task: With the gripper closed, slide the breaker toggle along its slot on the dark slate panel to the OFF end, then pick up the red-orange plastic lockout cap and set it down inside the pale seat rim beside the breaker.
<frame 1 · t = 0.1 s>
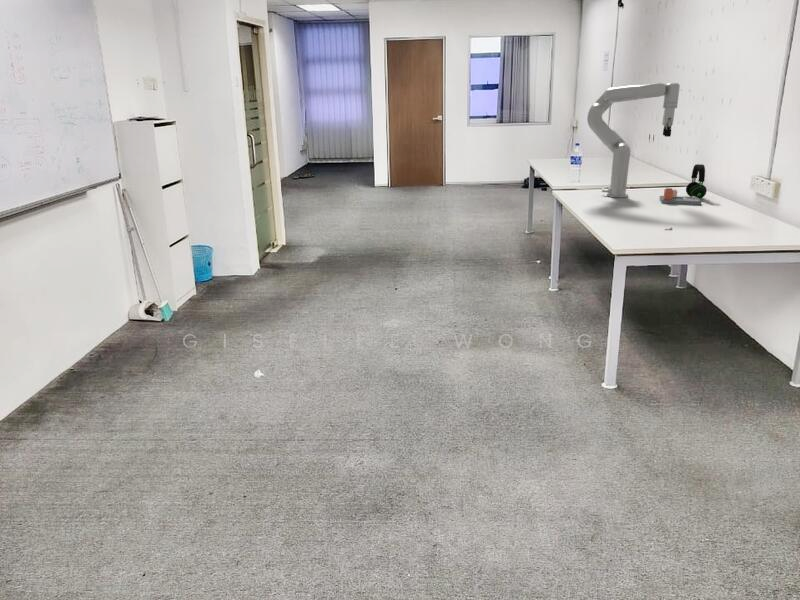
hand: (666, 135, 374), 37 cm above the table, tool pointing down, fingers open, 9 cm apart
headphones: (694, 198, 385), on the table
panel: (679, 202, 372), on the table
lockout cap: (667, 198, 370), point 2 cm above the table, touching panel
breaker toggle: (674, 193, 374), point 4 cm above the table, slide at 0.0 cm
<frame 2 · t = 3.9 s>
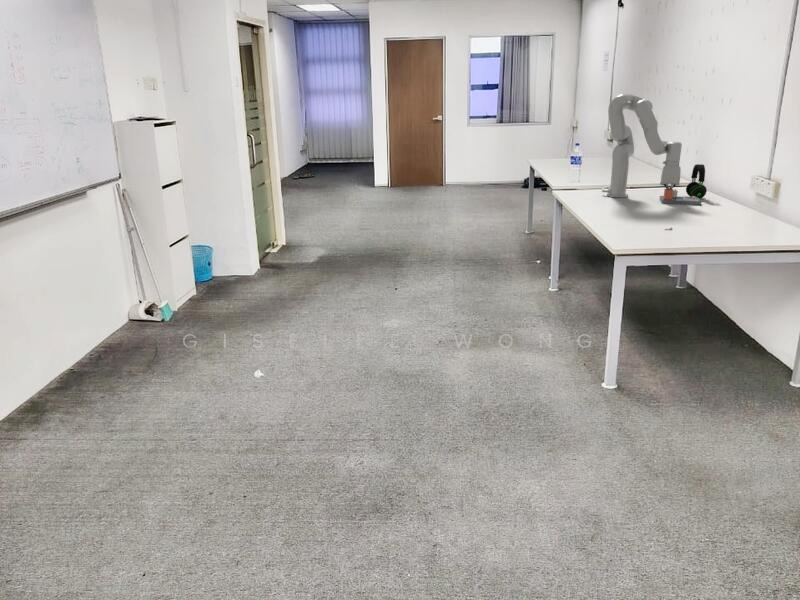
hand: (668, 195, 375), 3 cm above the table, tool pointing down, fingers closed
breaker toggle: (674, 193, 374), point 4 cm above the table, slide at 0.2 cm, touching gripper
everything else where it was.
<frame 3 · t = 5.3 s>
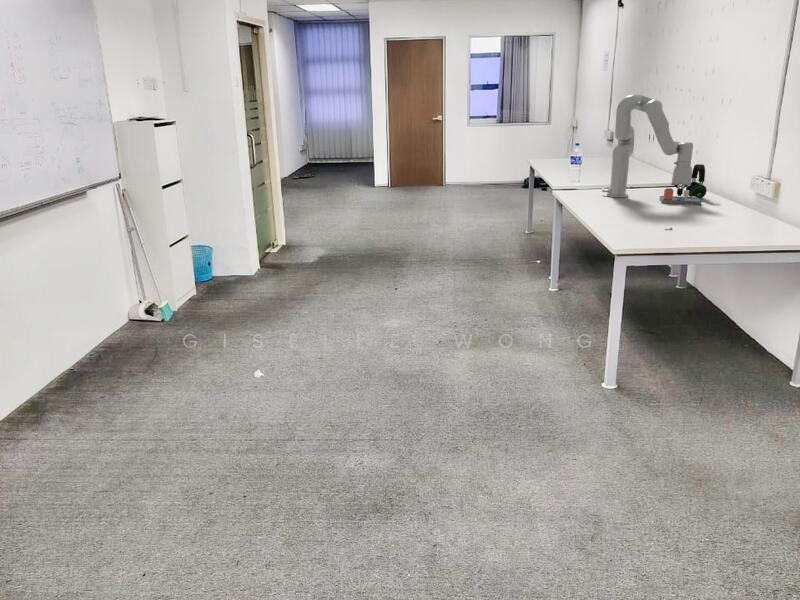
hand: (679, 195, 374), 3 cm above the table, tool pointing down, fingers closed
breaker toggle: (686, 193, 372), point 4 cm above the table, slide at 6.3 cm
everything else where it was.
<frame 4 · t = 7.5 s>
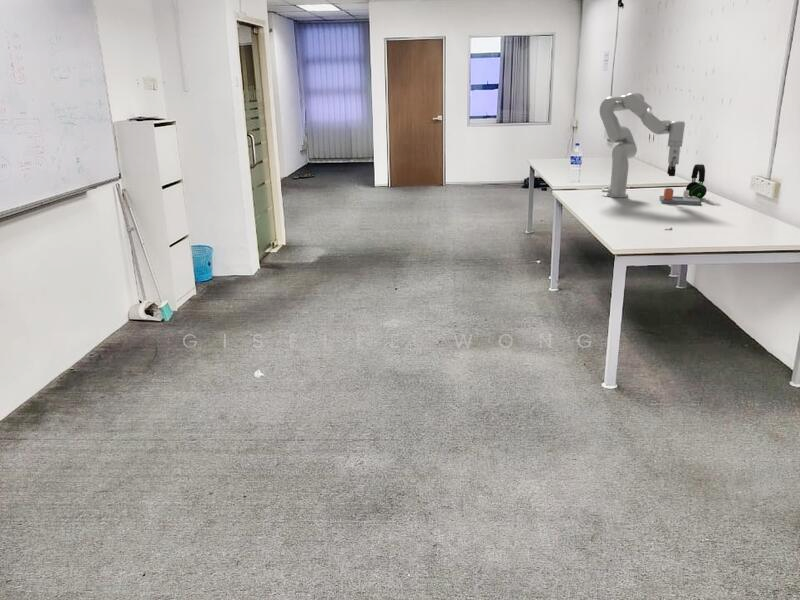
hand: (670, 174, 366), 16 cm above the table, tool pointing down, fingers open, 7 cm apart
nothing on the table moved.
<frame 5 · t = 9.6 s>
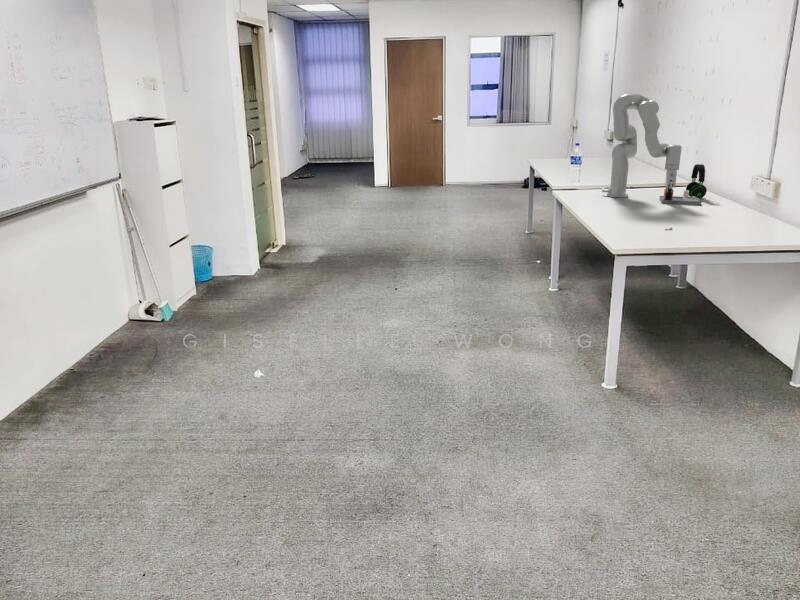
hand: (667, 198, 370), 2 cm above the table, tool pointing down, fingers closed on lockout cap, 4 cm apart
lockout cap: (667, 198, 370), point 2 cm above the table, touching gripper, panel
everything else where it was.
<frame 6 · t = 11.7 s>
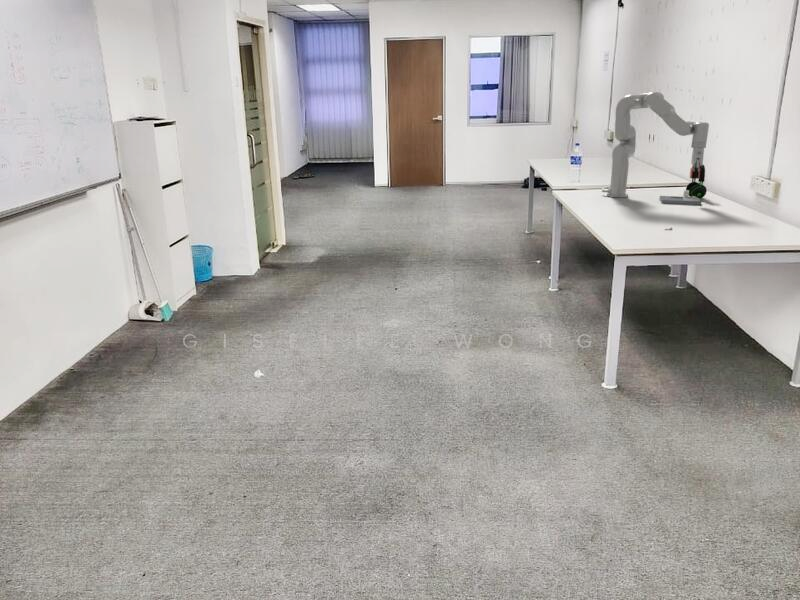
hand: (694, 177, 362), 15 cm above the table, tool pointing down, fingers closed on lockout cap, 4 cm apart
lockout cap: (694, 178, 363), point 15 cm above the table, touching gripper
everything else where it was.
when the fingers open (4 cm above the table, at t = 14.0 s): lockout cap drops 1 cm, resting on panel.
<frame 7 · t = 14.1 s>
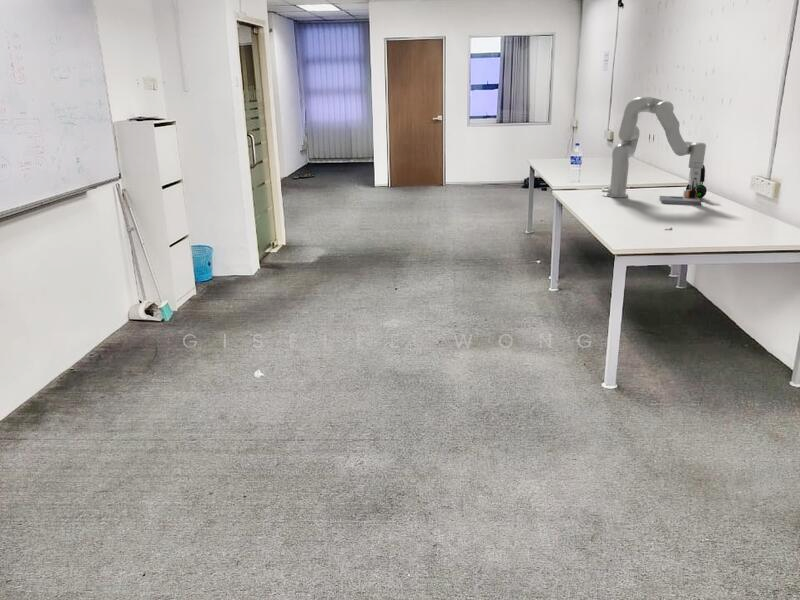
hand: (691, 196, 366), 4 cm above the table, tool pointing down, fingers open, 5 cm apart
lockout cap: (690, 199, 367), point 2 cm above the table, touching panel
breaker toggle: (686, 193, 372), point 4 cm above the table, slide at 6.3 cm, touching gripper
everything else where it was.
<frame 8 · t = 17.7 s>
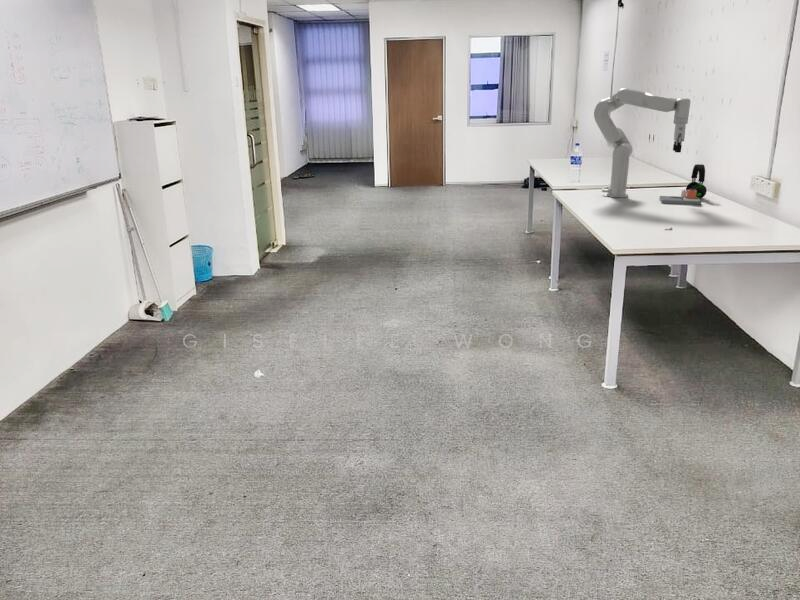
hand: (676, 151, 369), 28 cm above the table, tool pointing down, fingers open, 9 cm apart
breaker toggle: (683, 193, 373), point 4 cm above the table, slide at 5.2 cm
everything else where it was.
at the end: breaker toggle slide at 5.2 cm; lockout cap 0.0 cm from the target spot, point 2.0 cm above the table; lockout cap tilted 0° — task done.
